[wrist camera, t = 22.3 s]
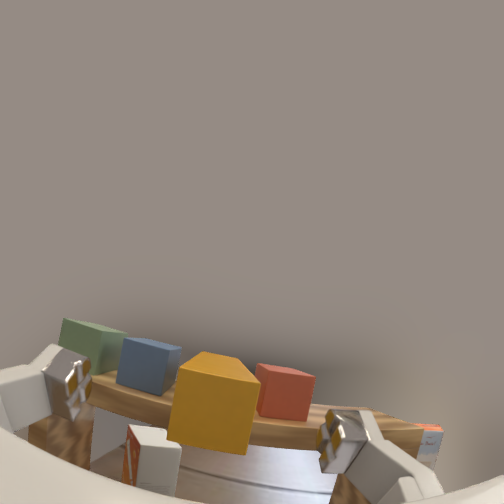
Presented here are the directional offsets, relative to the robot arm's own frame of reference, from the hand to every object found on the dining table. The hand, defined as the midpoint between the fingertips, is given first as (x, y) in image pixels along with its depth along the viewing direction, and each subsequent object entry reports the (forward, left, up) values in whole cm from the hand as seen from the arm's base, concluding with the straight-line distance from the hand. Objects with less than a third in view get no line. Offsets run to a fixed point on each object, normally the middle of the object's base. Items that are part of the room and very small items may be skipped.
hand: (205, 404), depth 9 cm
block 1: (+19, +12, -3) cm, 23 cm away
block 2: (+19, +6, -3) cm, 20 cm away
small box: (+35, +7, -28) cm, 45 cm away
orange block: (+15, 0, -3) cm, 15 cm away
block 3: (+19, -6, -3) cm, 20 cm away
